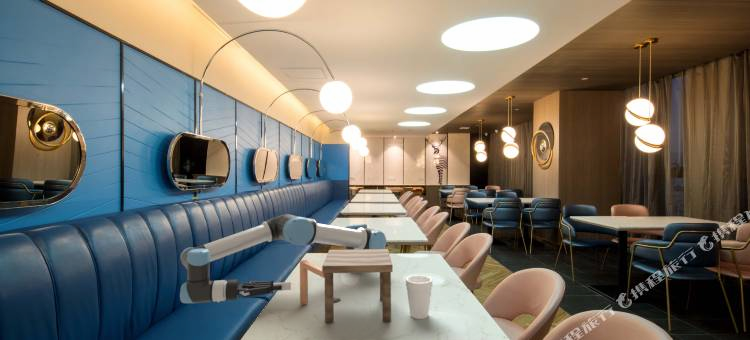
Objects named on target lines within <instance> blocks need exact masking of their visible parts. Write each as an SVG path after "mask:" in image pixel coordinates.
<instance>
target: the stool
mask: <svg viewBox="0 0 750 340" xmlns="http://www.w3.org/2000/svg"><path fill="white" fill-rule="evenodd" d="M321 268H322V273H325V278H324V323H325V324H328V325H330V324H333V323H334V322H335V321H334V318H335V315H334V314H335V312H334V310H335V309H334V308H335V307H334V303H339V302H340V301H341V298H339V297H334V274H357V273H358V274H359V273H360V274H361V273H362V274H365V273H371V274H372V273H379V300H380V301H381V303H382V304H381V305H382V310H381V311H382V313H381V314H382V316H381V318H382V320H381V321H382V322H383V323H391V322H392V288H391V287H392V283H391V282H392V274H391V273H393V269H394V268H393V262H392V259H391V255H390V251H389V249H388V248H384V249H353V250H346V249H328V252H327V254H326V256H325V259H324V261H323V263H322V266H321Z"/></svg>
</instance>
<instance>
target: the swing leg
mask: <svg viewBox="0 0 750 340" xmlns="http://www.w3.org/2000/svg"><path fill="white" fill-rule="evenodd" d="M308 272H311V273H313V274H315V275H317V276H319V277H321V278H323V279H325V273H322V266H318V265H316V264H314V263H311V262H310V261H308V260H307V259H306V260H305V259H302V260H299V303H300V305H307V304H309V291H308V290H309V286H308V285H309V279H308V277H309V276H308V275H309V273H308Z"/></svg>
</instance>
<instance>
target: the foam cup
mask: <svg viewBox="0 0 750 340" xmlns="http://www.w3.org/2000/svg"><path fill="white" fill-rule="evenodd" d="M405 286H406V291H407V293H406V294H407V299H408V300H407V301H408V307H409V314H410V316H411V318H414V319H418V320H424V319H426V318H428V317H429V312H430V303H431V296H432V288H433V279H432V278H431V277H429V276H426V275H422V274H421V275H410V276H406V278H405Z"/></svg>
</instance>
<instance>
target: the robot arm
mask: <svg viewBox="0 0 750 340" xmlns="http://www.w3.org/2000/svg"><path fill="white" fill-rule="evenodd" d="M386 237H387V236H386V235H385V233H384V232H383V231H382V230H379V229H374V228H368V225H367V224H366V223H356V224H349V225H348V224H347V225H346V226H345V227H342V226H337V225H331V224H324V223H318V222H317V221H316V220H315V219H314V218H308V217H303V216H297V215H293V214H288V213H285V214H281V215H278V216H275V217H272V218H270V219H268V220H264V221H263V222H262V223H261V224H259V225H258V226H256V225H255V226H253V227H251V228H248V229H245V230H242V231H239V232H235V233H234V234H231V235H228V236H225V237H222V238H220V239H217V240H214V241H211V242H209V243H205V244H202V245H199V246H196V247H193V246H191V247H187V248H185V249H183V251H182V252H181V254H180V262H181V264H182V265H183V266H184V267H185V269H186V270H187V281H186V282H184V283H182V284H181V286H180V291H179V298H180V302H181V303H182V304H201V303H211V302H212V303H213V302H217V304H218V303H220V302H225V301H237V300H238V297H239V296H242V297H243V298H244V299H246V298H249V297H255V296H263V295H268V294H271V295H273V294H274V292H280V291H291V290H292V289H291V288H292V286H291V285H292V284H291V283H292V282H291V281H283V282H274V280H270V281H269V280H268V281H266V280H264V281H263V280H262V281H261V280H260V281H259V280H248V281H247V282H243V283H239V279H237V278H236V279H228V280H227V279H220V280H218V279H217V280H211V266H210V265H211V262H214V261H215V260H219V259H221V258H225V257H226V256H230V255H232V254H235V253H238V252H240V251H243V250H246V249H248V248H251V247H254V246H256V245H259V244H261V243H264V242H270V243H271V242H274V241H278V240H279V241H280V240H282V241H285V242H288V243H289V244H291V245H294V246H304V245H305V246H310V245H312V244H313V243H316V244H324V245H334V246H340V247H345V249H344V250H353V249H386V244H387V238H386Z"/></svg>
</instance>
